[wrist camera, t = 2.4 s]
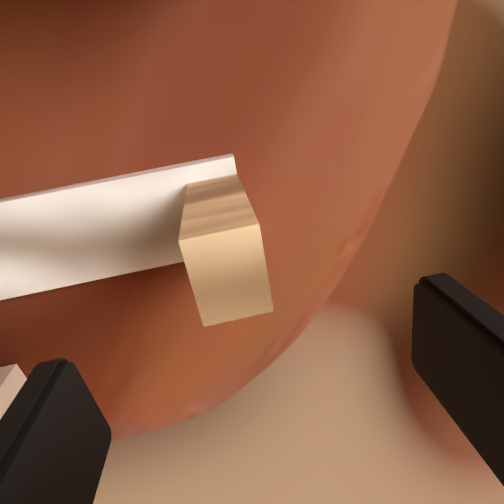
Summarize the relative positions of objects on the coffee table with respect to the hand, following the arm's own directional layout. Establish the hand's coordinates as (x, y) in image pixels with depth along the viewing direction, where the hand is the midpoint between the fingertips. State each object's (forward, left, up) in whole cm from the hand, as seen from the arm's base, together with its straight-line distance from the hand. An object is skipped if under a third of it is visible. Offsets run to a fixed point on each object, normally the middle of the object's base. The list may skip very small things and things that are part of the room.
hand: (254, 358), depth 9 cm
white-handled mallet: (0, -8, -14) cm, 16 cm away
